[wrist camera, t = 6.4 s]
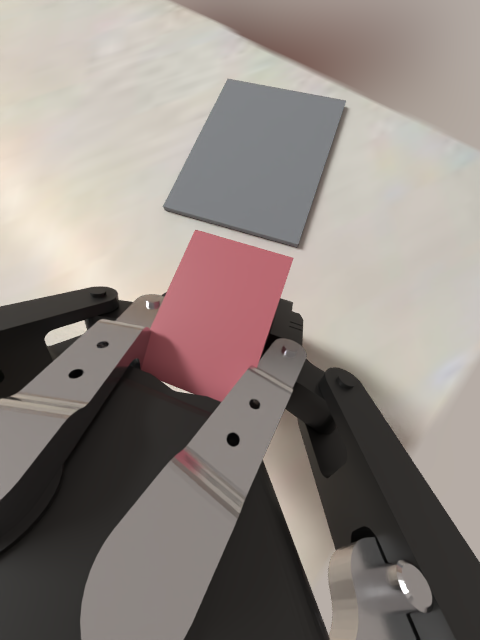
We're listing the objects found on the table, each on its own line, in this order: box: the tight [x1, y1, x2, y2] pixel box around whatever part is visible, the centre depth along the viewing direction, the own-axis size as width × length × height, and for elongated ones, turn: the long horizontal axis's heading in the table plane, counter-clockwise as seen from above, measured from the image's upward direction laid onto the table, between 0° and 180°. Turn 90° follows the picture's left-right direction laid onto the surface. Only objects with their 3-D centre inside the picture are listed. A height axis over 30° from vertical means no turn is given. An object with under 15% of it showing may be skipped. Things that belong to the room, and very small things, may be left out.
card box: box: [141, 230, 293, 402], centre depth 11 cm, size 4×5×9 cm
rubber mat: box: [163, 79, 346, 247], centre depth 19 cm, size 12×16×1 cm
